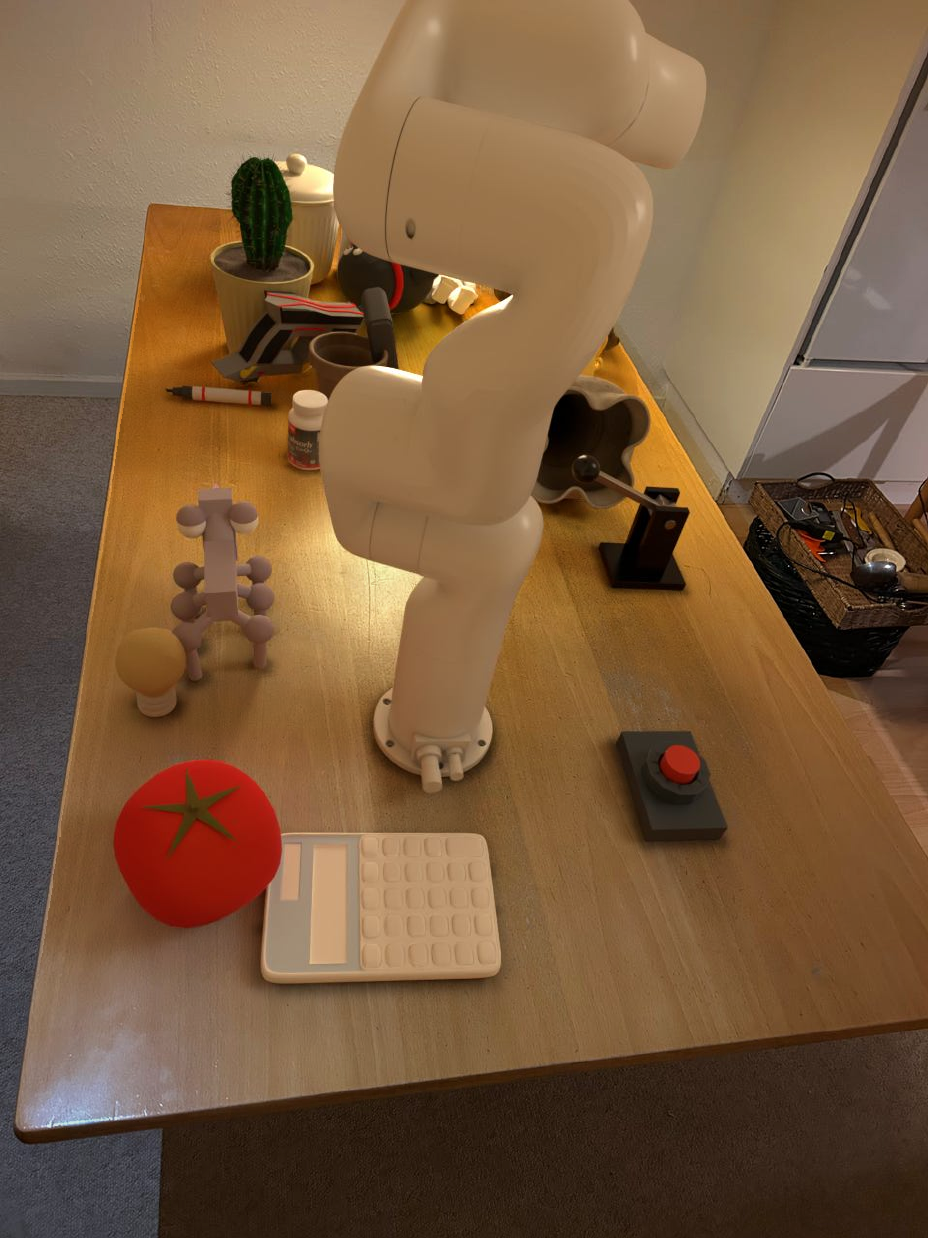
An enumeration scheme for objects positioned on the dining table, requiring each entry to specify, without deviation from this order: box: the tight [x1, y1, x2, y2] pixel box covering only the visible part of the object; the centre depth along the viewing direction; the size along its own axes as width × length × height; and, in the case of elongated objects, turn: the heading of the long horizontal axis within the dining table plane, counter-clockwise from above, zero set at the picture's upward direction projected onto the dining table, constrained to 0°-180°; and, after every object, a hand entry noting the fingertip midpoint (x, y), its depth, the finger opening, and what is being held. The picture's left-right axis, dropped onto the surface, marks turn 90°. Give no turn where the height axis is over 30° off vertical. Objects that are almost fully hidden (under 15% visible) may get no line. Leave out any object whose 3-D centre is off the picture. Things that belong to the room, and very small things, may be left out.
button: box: [660, 745, 700, 784], centre depth 86 cm, size 4×4×2 cm
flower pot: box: [309, 332, 388, 400], centre depth 128 cm, size 12×11×10 cm
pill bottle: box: [286, 389, 328, 471], centre depth 118 cm, size 6×6×10 cm
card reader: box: [361, 287, 400, 370], centre depth 131 cm, size 9×4×15 cm, turn 12°
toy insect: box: [170, 482, 275, 682], centre depth 93 cm, size 20×11×14 cm, turn 12°
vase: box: [531, 375, 652, 510], centre depth 125 cm, size 22×22×28 cm
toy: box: [336, 243, 439, 315], centre depth 152 cm, size 20×16×20 cm
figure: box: [430, 275, 479, 316], centre depth 166 cm, size 13×8×25 cm
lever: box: [572, 455, 678, 515], centre depth 105 cm, size 16×3×3 cm, turn 97°
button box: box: [615, 730, 728, 842], centre depth 88 cm, size 12×8×4 cm, turn 7°
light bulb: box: [114, 626, 187, 718], centre depth 84 cm, size 6×6×10 cm
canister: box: [274, 153, 340, 286], centre depth 155 cm, size 18×18×21 cm
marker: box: [164, 385, 273, 407], centre depth 127 cm, size 15×2×2 cm, turn 96°
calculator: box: [260, 832, 502, 984], centre depth 75 cm, size 13×20×2 cm, turn 95°
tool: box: [211, 290, 365, 387], centre depth 133 cm, size 5×25×15 cm, turn 134°
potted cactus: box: [209, 154, 314, 354], centre depth 130 cm, size 15×15×30 cm
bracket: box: [597, 485, 691, 591], centre depth 111 cm, size 10×8×12 cm
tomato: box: [112, 758, 282, 930], centre depth 71 cm, size 13×14×12 cm
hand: (547, 344), depth 97 cm, fingers open, 9 cm apart
